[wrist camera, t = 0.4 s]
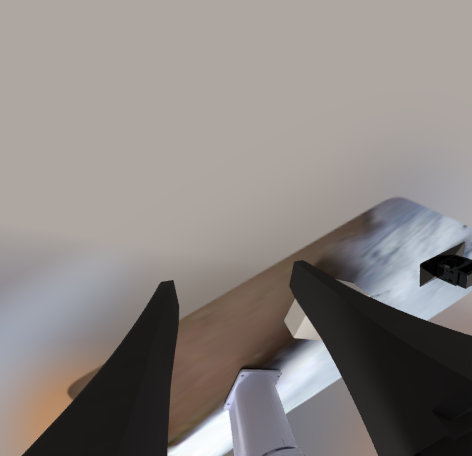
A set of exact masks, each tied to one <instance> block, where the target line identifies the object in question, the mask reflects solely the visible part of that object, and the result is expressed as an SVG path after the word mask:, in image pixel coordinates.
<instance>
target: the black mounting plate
mask: <svg viewBox="0 0 472 456" xmlns="http://www.w3.org/2000/svg"><path fill="white" fill-rule="evenodd" d="M464 247H465V242H463V243H461V244H459V245H457V246H455V247H453V248H451V249H449V250H447V251H445V252H443V253H441V254H439V255H437V256H435V257H433V258H431V259H429V260H427V261H425V262H423V263H421V264H420V287H421V286H423V285H425V284H427V283H429V282H430V281H432V280H434V279H436V278H439V279H441V280H443V281H446V282H448V283H450V284H452V285H455V286H457V285H458V286H460V287H463V288H465V289H466V288H468V287H470V286H472V260H471V259H468V258H465V257H463V252H464ZM447 279H448V280H447Z"/></svg>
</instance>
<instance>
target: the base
mask: <svg viewBox="0 0 472 456" xmlns="http://www.w3.org/2000/svg"><path fill="white" fill-rule="evenodd" d="M336 280H338V279H336ZM338 281H340V282H342V283H344V284H345V285H347V286H349V287H351V288H353V289H355V290H357V291H359V292H361V293H362V294H364V295H367V296H369V297H370V295H369V294H367V293H366V292H364V291H363V290H362V289H360V288H359V287H358V286H356V285H355V284H353V283H350V282H346V281H342V280H338ZM284 322H285V323H286V325H287V327H288V329H289V331H290V332H291V334H292V336H293V338H300V339H310V340H320V341H322V339H321V337H320V336H319V334H318V333H317V331H316V330H315V328H314V327H313V325H312V324H311V322H310V321H309V319H308V318H307V316H306V315H305V313H304V312H303V310H302V308H301V307H300V305H299V304H298V302H297V301H296V299H295V300H294V302H293V304H292V306H291V308H290V310H289V312H288V313H287V315H286V317H285V319H284Z"/></svg>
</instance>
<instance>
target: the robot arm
mask: <svg viewBox="0 0 472 456" xmlns="http://www.w3.org/2000/svg"><path fill="white" fill-rule="evenodd" d="M289 286H290V288H291V290H292V293H293V295H294V297H295V299H296V301H297V302H298V304H299V305H300V307H301V308H302V310H303V312H304V313H305V315H306V316H307V318H308V319H309V321H310V322H311V324H312V325H313V327H314V328H315V330H316V331H317V333H318V334H319V336H320V337H321V339H322V341H323V342H324V344H325V346H326V348H327V349H328V351H329V353H330V355H331V357H332V359H333V360H334V362H335V364H336V366H337V368H338V370H339V372H340V374H341V376H342V378H343V380H344V382H345V384H346V385H347V388H348V390H349V392H350V394H351V396H352V398H353V400H354V402H355V404H356V406H357V409H358V410H359V413H360V415H361V417H362V420H363V422H364V424H365V426H366V428H367V431H368V433H369V435H370V437H371V439H372V442H373V444H374V447H375V449H376V451H377V454H378V456H472V336H470V335H467V334H464V333H461V332H457V331H454V330H451V329H449V328H446V327H443V326H440V325H437V324H434V323H431V322H428V321H426V320H423V319H420V318H418V317H415V316H413V315H410V314H408V313H405V312H403V311H400V310H398V309H395V308H393V307H390V306H388V305H386V304H384V303H382V302H379V301H377V300H375V299H373V298H371V297H369V296H367V295H364V294H362V293H361V292H359V291H357V290H355V289H353V288H351V287H349V286H347V285H345V284H344V283H342V282H340V281H338V280H336V279H335V278H333V277H331V276H330V275H328V274H326V273H324V272H323V271H321V270H319V269H318V268H316V267H314V266H312V265H311V264H309V263H307V262H305V261H303V260H302V261H295V262H294V265H293V270H292V275H291V280H290V285H289ZM178 325H179V304H178V299H177V295H176V290H175V285H174V281H173V280H171V281H165V282H161V283H160V284H159V286H158V288H157V289H156V291H155V293H154V295H153V296H152V298H151V300H150V301H149V303H148V304H147V306H146V308H145V309H144V311H143V312H142V314H141V315H140V317H139V318H138V320H137V321H136V323H135V324H134V326H133V327H132V329H131V330H130V331H129V333H128V334H127V335H126V337H125V338H124V340H123V341H122V342H121V344H120V345H119V346H118V348H117V349H116V350H115V351H114V353H113V354H112V355H111V357H110V358H109V359H108V360H107V362H106V363H105V364H104V365H103V366H102V368H101V369H100V370H99V371H98V373H97V374H96V375H95V376H94V377H93V378H92V380H91V381H90V382H89V383H88V384H87V385H86V387H85V388H84V389H83V390H82V391H81V392H80V394H79V395H78V396H77V397H76V398H75V399H74V400H73V401H72V403H71V404H70V405H69V406H68V407H67V408H66V409H65V410H64V411H63V413H62V414H61V415H60V416H59V417H58V418H57V419H56V420H55V421H54V422H53V423H52V424H51V425H50V427H48V428H47V429H46V431H45V432H44V433H43V434H42V435H41V436H40V437H39V438H38V439H37V440H36V441H35V442H34V443H33V444H32V445H31V447H30V448H29V449H28V450H27V451H26V452H25V453H24V454H23V455H22V456H167V444H168V424H169V405H170V388H171V378H172V370H173V363H174V355H175V348H176V341H177V333H178ZM281 374H282V373H281V371H280V370H252V369H242V370H241V371H240V373H239V375H238V377H237V379H236V381H235V383H234V385H233V387H232V389H231V392H230V394H229V396H228V398H227V400H226V402H225V404H224V409H225V410H229V415H230V423H231V431H232V439H233V447H234V456H302V453H301V450H300V448H299V447H297V446H296V443H295V440H294V437H293V435H292V432H291V429H290V426H289V423H288V420H287V417H286V415H285V412H284V409H283V406H282V403H281V400H280V398H279V395H278V392H277V389H276V386H275V385H276V383H277V381H278V380H279V378H280V376H281ZM305 456H307V455H305Z"/></svg>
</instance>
